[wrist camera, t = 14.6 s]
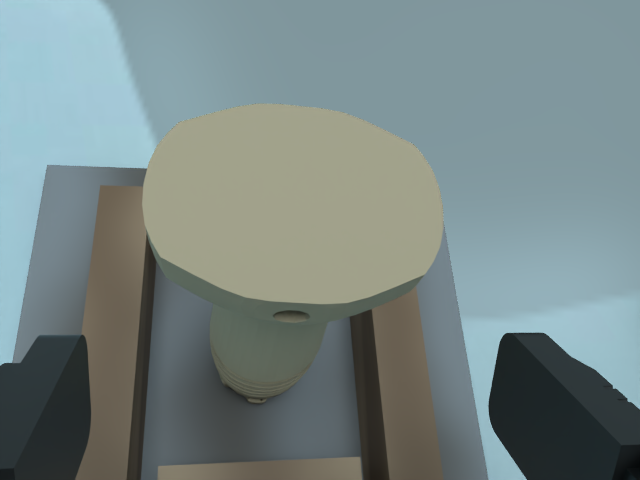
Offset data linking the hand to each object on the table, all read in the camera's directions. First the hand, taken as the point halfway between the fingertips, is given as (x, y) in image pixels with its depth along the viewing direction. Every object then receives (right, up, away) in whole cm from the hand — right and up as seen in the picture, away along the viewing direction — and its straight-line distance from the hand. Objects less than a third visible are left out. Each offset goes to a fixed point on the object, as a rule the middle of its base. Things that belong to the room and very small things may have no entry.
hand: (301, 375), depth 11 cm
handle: (-2, -3, +15) cm, 15 cm away
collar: (-3, -3, +15) cm, 16 cm away
